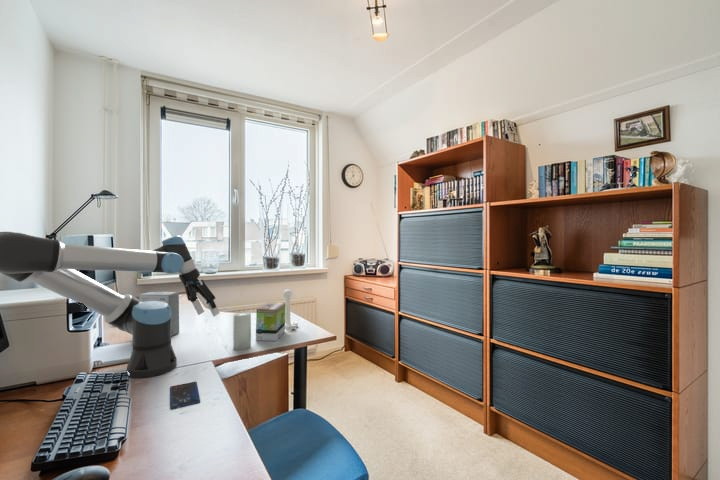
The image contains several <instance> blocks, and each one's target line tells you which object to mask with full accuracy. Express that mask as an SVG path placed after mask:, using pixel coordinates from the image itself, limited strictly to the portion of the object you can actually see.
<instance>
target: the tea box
mask: <svg viewBox="0 0 720 480" xmlns="http://www.w3.org/2000/svg"><path fill="white" fill-rule="evenodd" d="M285 305H286V302H265V303H264V304H262V305H260V306H259V307H258V308H256V312H255V313H256V319H255V320H256V322H255V341H257V342H258V341H261V342H263V341H264V342H266V341H267V342H275V341H278V339H279V338H280V337H281V336H282V335H283V334H284V333H285V332H286V330H285Z"/></svg>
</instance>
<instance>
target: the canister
mask: <svg viewBox="0 0 720 480" xmlns="http://www.w3.org/2000/svg"><path fill="white" fill-rule="evenodd" d="M232 329H233V331H232V332H233V335H232V336H233V339H232V340H233V342H232V343H233V350H237V351H242V350H244V351H245V350H248V349H250V348H251V346H252V343H251V342H252V341H251V340H252V338H251V337H252V333H251V332H252V314H251V313H250V312H238V313H235V314H233V328H232Z"/></svg>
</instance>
